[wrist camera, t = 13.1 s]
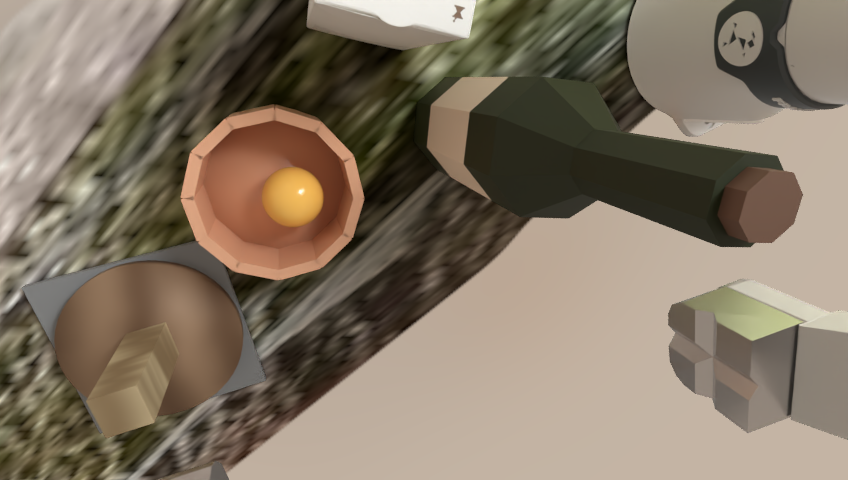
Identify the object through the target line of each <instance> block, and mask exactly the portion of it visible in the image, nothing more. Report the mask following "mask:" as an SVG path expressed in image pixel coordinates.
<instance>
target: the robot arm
mask: <svg viewBox="0 0 848 480" xmlns="http://www.w3.org/2000/svg"><path fill="white" fill-rule="evenodd" d="M627 57H628V64H629V69H630V72H631V76H632V79H633V81H634V83H635V85H636V87H637V89H638V91H639V92H640V94H641V95H642V96H643V98H644V99H645V100H646V101H647V102H648V103H649V104H650V105H652V106H653V107H654V108H656V109H658V110H660V111H662V112H664V113H666V114H667V115H669V116H670V117H672V118H673V119H674V121H675V123H676V124H677V126H678V127H679V128H680V130H681V131H682V132H683V133H684V134H685V135H686V136H701V135H703V134H705V133H707V132H709V131H711V130H713V129H715V128H717V127H719V126H721V125H723V124H724V123H739V124H740V123H741V124H742V123H743V124H757V123H762V122H764V120H765V118H768V117H771V116H773V115H775V114H777V113H778V112H780V111H782V110H783V109H785V108H789V109H792V110H804V111H813V110H820V109H834V108H838V107H841V106H843V105H848V0H637V1H636V3H635V6H634V9H633V12H632V15H631V18H630V23H629V28H628V35H627ZM668 317H669V319H668V325H669V326H670V327H671V328H672V330H673V331H674V332H675V335H674V337H673V339H672V341H671V343H670V345H669V356H670V363H671V365H672V367H673V369H674V371H675V373H676V376H677V377H678V378H679V379H680V381H681V382H682V383H683V384H684V385H685V386H686V387H688V388H689V389H690V390H691V391H692V392H694V393H695V394H699V395H702V396H706V397H710V398H712V399H713V403H714V406H715V409H716V410H718V411H719V412H720V413H722V414H723V415H724V416H725V417H727V418H728V419H729V420H731V421H732V422H733V423H735V424H736V425H737V426H739V427H740V428H741V429H743V430H744V431H746V432H747V433H749V432H752V431H755V430H757V429H760V428H762V427H765V426H768V425H770V424H773V423H776V422H778V421H781V420H784V419H786V418H789V417H791V420H793V421H796V422H799V423H802V424H804V425H807V426H810V427H813V428H816V429H818V430H821V431H824V432H827V433H830V434H833V435H836V436H838V437H841V438H844V439H847V440H848V312H847V311H839V310H838V311H835V312H832V313H830V312H828V311H825V310H823V309H820V308H818V307H816V306H813V305H811V304H808V303H806V302H804V301H801V300H799V299H796V298H794V297H792V296H789V295H787V294H785V293H782V292H780V291H778V290H775V289H773V288H770V287H768V286H765V285H763V284H761V283H758V282H756V281H754V280H750V279H740V280H737V281H735V282H732V283H729V284H727V285H724V286H721V287H719V288H718V289H716V290H713V291H710V292H707V293H704V294H702V295H699V296H696V297H693V298H690V299H687V300H684V301H681V302H679V303H676V304H673V305H672V306H671V308H670V311H669V313H668ZM157 480H229V478H228V476H227V474H226V472H225V470H224V468H223V466H222V464H221V463H219V462H217V461H213V462H210V463H207V464H204V465H201V466H198V467H195V468H192V469H188V470H185V471H182V472H179V473H176V474H173V475H170V476H167V477H163V478H160V479H157Z"/></svg>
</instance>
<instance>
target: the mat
mask: <svg viewBox="0 0 848 480" xmlns="http://www.w3.org/2000/svg"><path fill="white" fill-rule="evenodd" d="M145 260H158V261H167V262H174V263H178V264H182V265H185V266H188V267H190V268H193V269H196V270H198V271H200V272H202V273H203V274H205V275H207V276H208V277H210V278H211V279H213V280H214V281H216V282H217V283H218V284H219V285H220V286H221V287H222V288H223V289H224V290H225V291H226V292H227V293H228V294H229V295H230V297H231V298H232V300H233V301H234V303H235V305H236V307H237V309H238V311H239V313H240V317H241V320H242V325H243V346H242V352H241V357H240V360H239V363H238V365H237V367H236V369H235V371H234V373H233V375H232V376H231V378H230V379H229V380H228V382H227V383H226V384H225V385H224V386H223V387H222V388H221V389H220V390H219V391H218V392H217V393H216V394H214V395H213V396H212V397H210V398H213V397H216V396H219V395H222V394H225V393H228V392H231V391H235V390H238V389H241V388H244V387H247V386H250V385H253V384H256V383H260V382H263V381H266V375H265V373H264V370H263V367H262V364H261V362H260V359H259V356H258V354H257V351H256V348H255V345H254V343H253V340H252V337H251V335H250V332H249V329H248V326H247V324H246V321H245V318H244V316H243V313H242V310H241V307H240V305H239V302H238V299H237V297H236V294H235V291H234V288H233V286H232V283H231V280H230V278H229V275H228V272H227V269H226V267H225V264H224V263H222V262H221V261H220V260H219V259H217V258H216V257H215V256H214V255H212V254H211V253H210V252H209V251H207V250H206V249H205V248H204V247H202V246H201V245H200V244H199V243H198V241H192V242H188V243H184V244H180V245H177V246H173V247H169V248H165V249H161V250H157V251H154V252H150V253H146V254H142V255H138V256H134V257H131V258H127V259H123V260H119V261H115V262H111V263H108V264H104V265H100V266H96V267H92V268H88V269H85V270H81V271H77V272H73V273H69V274H65V275H62V276H58V277H54V278H50V279H46V280H42V281H39V282H35V283H31V284H27V285H25V286H23V287H22V290H23V291H24V293H25V295H26V297H27V299H28V301H29V303H30V304H31V306H32V308H33V310H34V312H35V314H36V316H37V317H38V319H39V321H40V323H41V325H42V327H43V329H44V330H45V332H46V334H47V336H48V338H49V340H50V342H51V343H52V345H53V347H54V349H55V343H54V338H55V329H56V325H57V321H58V318H59V316H60V314H61V311H62V309H63V308H64V306H65V305H66V303H67V302H68V300H69V299H70V298H71V297H72V296H73V295H74V293H75V292H76V291H77V290H78V289H79V288H80V287H81V286H82V285H83V284H85V283H86V282H87V281H88V280H89V279H91V278H93V277H94V276H96V275H97V274H99V273H101V272H103V271H105V270H107V269H109V268H112V267H115V266H118V265H121V264H124V263H129V262H134V261H145ZM76 390H77V389H76ZM77 392H78V394H79V395H80V397H81V399H82V401H83V403H84V405H85V407H86V408H87V410H88V412H89V414H90V416H91V418H92V420H93V421H94V423H95V425H96V427H97V429H98V431H99V433H100V434H101V433H103V432H102V430H101V428H100V426H99V425H98V423H97V421H96V419H95V417H94V415H93V413H92V412H91V410H90V408H89V406H88V404H87V402H86V400H87V399H88V398H87V397H85V396H84V395H83V394H82V393H80V392H79V391H78V390H77ZM210 398H209V399H210Z"/></svg>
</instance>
